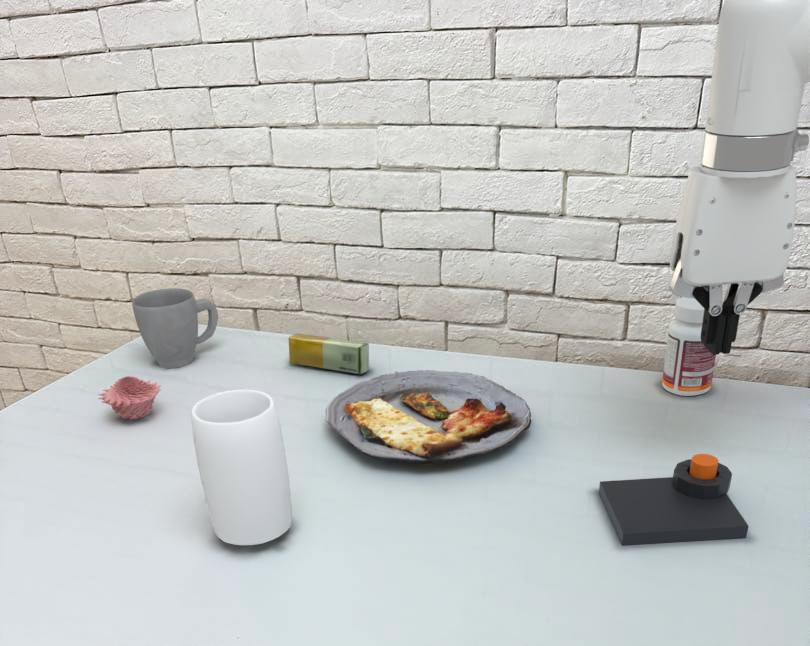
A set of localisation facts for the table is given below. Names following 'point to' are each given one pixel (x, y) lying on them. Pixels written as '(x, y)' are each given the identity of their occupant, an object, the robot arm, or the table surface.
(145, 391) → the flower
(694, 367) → the pill bottle
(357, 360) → the medication box
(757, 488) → the table surface
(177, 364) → the mug
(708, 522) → the scale
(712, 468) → the button
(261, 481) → the cup
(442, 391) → the food plate
